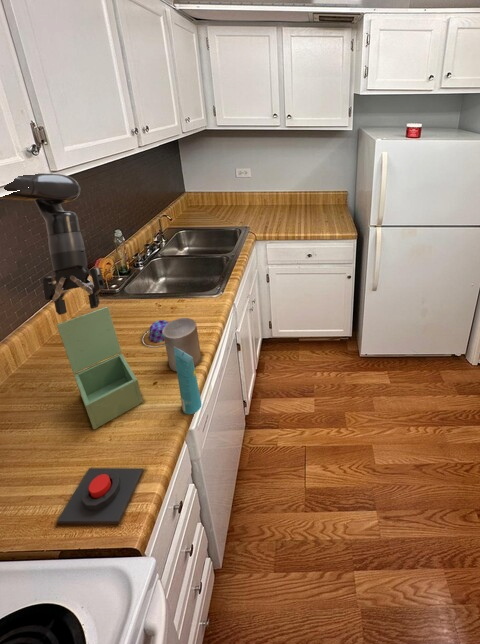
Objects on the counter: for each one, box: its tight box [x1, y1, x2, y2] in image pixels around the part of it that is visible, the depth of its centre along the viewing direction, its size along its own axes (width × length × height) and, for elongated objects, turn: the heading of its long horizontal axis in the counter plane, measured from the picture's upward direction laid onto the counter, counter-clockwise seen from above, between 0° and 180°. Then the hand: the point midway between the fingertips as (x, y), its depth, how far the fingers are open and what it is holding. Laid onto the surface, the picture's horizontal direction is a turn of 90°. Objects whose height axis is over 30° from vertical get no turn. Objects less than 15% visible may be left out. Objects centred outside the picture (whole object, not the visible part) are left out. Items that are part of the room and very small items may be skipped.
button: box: [89, 474, 111, 498], centre depth 68 cm, size 4×4×2 cm
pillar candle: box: [162, 317, 202, 372], centre depth 103 cm, size 10×10×15 cm
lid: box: [56, 306, 122, 374], centre depth 91 cm, size 15×12×1 cm
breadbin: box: [73, 352, 144, 431], centre depth 90 cm, size 14×12×9 cm
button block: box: [56, 467, 144, 525], centre depth 69 cm, size 12×10×4 cm
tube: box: [174, 347, 202, 415], centre depth 87 cm, size 7×5×19 cm, turn 63°
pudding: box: [142, 319, 169, 348], centre depth 116 cm, size 12×12×5 cm
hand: (78, 310), depth 88 cm, fingers open, 8 cm apart
